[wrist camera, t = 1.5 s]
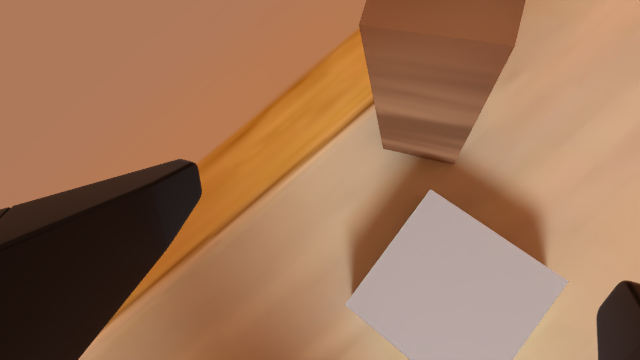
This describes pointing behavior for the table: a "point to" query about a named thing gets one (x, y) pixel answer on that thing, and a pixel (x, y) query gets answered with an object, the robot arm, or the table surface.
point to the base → (454, 288)
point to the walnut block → (435, 68)
